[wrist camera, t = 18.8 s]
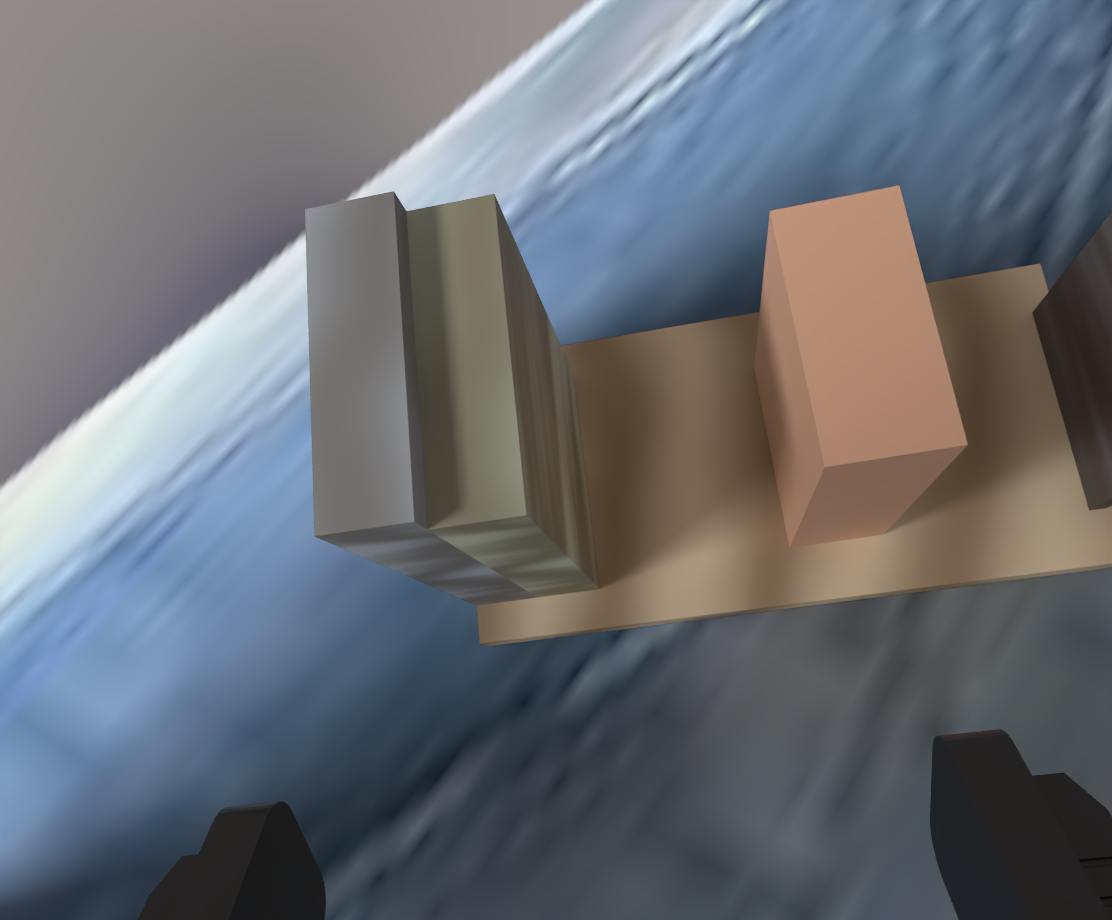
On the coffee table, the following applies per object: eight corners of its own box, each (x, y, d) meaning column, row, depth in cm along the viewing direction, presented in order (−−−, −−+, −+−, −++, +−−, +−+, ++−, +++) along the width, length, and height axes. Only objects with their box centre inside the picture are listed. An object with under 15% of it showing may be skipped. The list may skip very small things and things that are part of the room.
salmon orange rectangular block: (789, 548, 34) (824, 467, 23) (754, 367, 36) (769, 210, 25) (883, 534, 33) (968, 444, 22) (841, 352, 36) (899, 185, 24)
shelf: (489, 646, 36) (316, 598, 21) (466, 376, 40) (303, 161, 24) (1111, 568, 33) (1460, 441, 18) (1027, 280, 37) (1257, -39, 21)
